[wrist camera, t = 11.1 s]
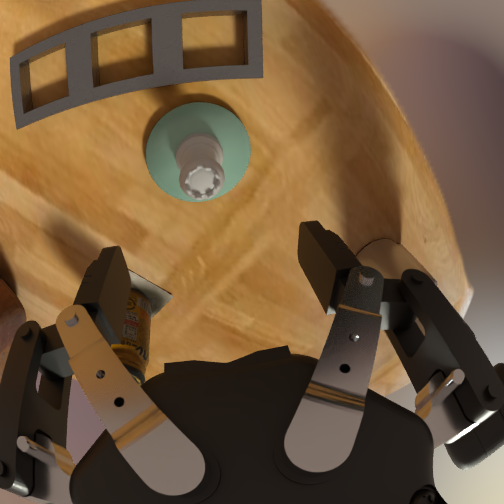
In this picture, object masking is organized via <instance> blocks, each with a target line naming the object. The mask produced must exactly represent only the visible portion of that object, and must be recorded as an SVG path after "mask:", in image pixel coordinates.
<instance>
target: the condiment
mask: <svg viewBox="0 0 504 504" xmlns="http://www.w3.org/2000/svg"><path fill="white" fill-rule="evenodd" d="M129 273H130V277H131V289H130V294H129V299H128V304H127V309H126V315H125V321H124V327H123V333H122V339H121V344H111V349H112V350H113V352H114V353H115V354H116V356H117V357H118V359H119V360H120V361H121V363H122V364H123V365H124V367H125V368H126V369H127V371H128V372H129V373H130V374H131V376H132V377H133V378H134V380H135V381H136V382H137V383H138V385H139V386H141V385H142V384H143V383H144V382H145V376H144V375H145V371H146V367H147V365H148V362H149V341H150V323H151V318H152V317H153V316H154V315H155V314H157V312H159V311H160V310H161V308H163V306H164V305H165V304H166V303H168V302H169V301H170V300H171V299H172V298H173V296H172V295H170V294H168V293H167V292H166V291H164V290H162V289H160V288H159V287H157V286H156V285H154V284H152V283H150V282H149V281H147V280H146V279H143V278H141V277H140V276H138V275H137V274H135V273H133V272H131V271H129Z"/></svg>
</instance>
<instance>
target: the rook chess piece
mask: <svg viewBox="0 0 504 504" xmlns="http://www.w3.org/2000/svg"><path fill="white" fill-rule="evenodd" d="M175 156H176V163H177V167H178V169H179V170H180V176H179V182H180V187H181V189H182V190H183V191H184V193H185V194H186V195H188V196H189V197H191V198H193V199H196V200H201V201H202V200H203V199H210V198H212V197H214V196H215V195H216V194H218V192H219V191H220V190H221V189H222V188H223V184H224V181H225V175H224V170H223V168H222V167H221V166H222V163H223V159H224V157H223V148H222V146H221V144H220V143H219V141H218V140H217V139H216V138H215V137H213V136H212V135H210V134H206V133H195V134H191V135H189V136H187V137H186V138H184V139H183V140H182V141H181V143H180V144H179V145H178V147H177V151H176V155H175Z"/></svg>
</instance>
